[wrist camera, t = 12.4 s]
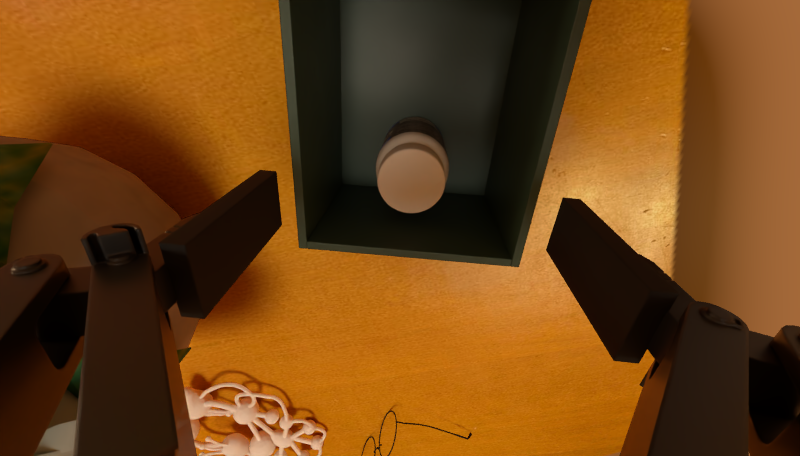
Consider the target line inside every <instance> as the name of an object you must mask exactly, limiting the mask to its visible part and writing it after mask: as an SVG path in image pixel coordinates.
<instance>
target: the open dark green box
mask: <svg viewBox="0 0 800 456" xmlns="http://www.w3.org/2000/svg"><path fill="white" fill-rule="evenodd" d="M591 2H592V0H279V11H280V23H281V35H282V47H283V59H284V71H285V84H286V96H287V108H288V120H289V132H290V144H291V156H292V168H293V180H294V192H295V204H296V216H297V228H298V240H299V248H308V249H318V250H330V251H341V252H352V253H364V254H375V255H387V256H398V257H409V258H421V259H432V260H444V261H455V262H466V263H478V264H489V265H501V266H512V267H519V264H520V261H521V257H522V253H523V250H524V246H525V243H526V239H527V235H528V232H529V228H530V224H531V221H532V217H533V213H534V210H535V206H536V202H537V199H538V195H539V191H540V188H541V184H542V180H543V177H544V173H545V170H546V166H547V162H548V159H549V155H550V151H551V148H552V144H553V140H554V137H555V133H556V129H557V126H558V122H559V118H560V115H561V111H562V107H563V104H564V100H565V96H566V93H567V89H568V86H569V82H570V78H571V75H572V71H573V67H574V64H575V60H576V56H577V53H578V49H579V45H580V42H581V38H582V34H583V31H584V27H585V23H586V20H587V16H588V13H589V9H590V5H591ZM408 117H420V118H424V119H427V120H429V121H430V122H432V123H433V124H434V125H435V126H436V127H437V128H438V129H439V131H440V133H441V134H442V137H443V140H444V144H445V148H446V153H447V156H448V160H449V173H448V178H447V181H446V183H445V188H444V191H443V194H442V196H441V198H440V199H439V200H438V201H437V203H436V204H435V205H433V206H432V207H431V208H429V209H427V210H425V211H422V212H418V213H405V212H401V211H398V210H396V209H394V208H392V207H391V206H389V205H388V204H387V203H386V202H385V201H384V199H383V198H382V196H381V194H380V192H379V189H378V184H377V175H376V161H377V157H378V154H379V152H380V149H381V147H382V145H383V142H384V140H385V137H386V135H387V133H388V131H389V130H390V129H391V128H392V126H393V125H394V124H396V123H397V122H398V121H400V120H402V119H405V118H408Z"/></svg>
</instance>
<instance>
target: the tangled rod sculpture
mask: <svg viewBox="0 0 800 456" xmlns="http://www.w3.org/2000/svg"><path fill="white" fill-rule="evenodd" d="M221 387H235V388H239V389H241V390H243V391H244V392H242V393H239V394H237V395H236V396H235V403H236V405H233V404H230V403H226V402H223V401H218V400H213V397H212V395H211V394H210V393H209V392H211V391H213V390H216V389H218V388H221ZM184 391H185V396H186V401H187V407H188V412H189V417H190V422H191V428H192V433H193V438H194V439H195V438H196V437H197V435H198V433H199V430H200V422H199V418H201V417H203V416H222V415H226V416H227V417H229V416H231V415H232V414H233V417H234V419H235V421H236V422H237V423H239V424H247V425H248V426H249V428H250V429H251V431H252V432H253V434H254V436H253V437H252V439H251V441H250V445H249V442H248V439H247V438H246V437H245V436H244V435H242V434H241V433H233V434H230V435H228V436H227V437H226V438H225V439H224V440H223V442H217V441H214V440H212V439H211V437H210V436H207V437H206V439H205V441H206V442H201V441H197V440H194V443H195V447H197V448H200V450H203V449H206V450H211V451H217V450H221V451H218V452H212V453H207V454H205V453H204V452H201V453H200V454H199V456H210V455H217V454H224V455H226V456H244V455H248V456H271V454H272V453H273V451H274V450H275V448H276V446H278V447H279V450H278V451H277V452H276V453H275V454H274V456H287V453H286V451H285V450H284V448H287V447H289V446H291V447H292V448H293V450H294V451H295V452H296V453H297V456H310V454H309V452H308V451H307V450H302V451H301V450H300V449H299V448H298V446H297V445H296V444H295V443H294V441H297V442H301V443H305V444H309V445H311V447H312V449H314V450H319V454H318V455H317V456H321V454H322V448H321V447H322V445H323V441H324V439H325V438H326V431H325V430H324V429H323V428H321V427H316V423H315V422H314V421H313V420H305V419H293V417H292V416H291V415H289V414H288V411H287V409H286V406H285V404H284V402H283V401H282V400H281V399H280V398H279V397H277V396H274V395H269V394H263V393H255V392H251V391H250V390H249V389H248V388H246V387H245V386H243V385H241V384H238V383H234V382H226V383H220V384H217V385H215V386H212V387H210V388H208V389H207V390H205V391H204V390H198V389H194V388H192V387H185V388H184ZM244 396H250V397H251V398H250V397H248V398H243V399H241V400H240V401H239V397H244ZM256 397H261V398H268V399H273V400H276V401H277V402H278V403H279V404H280V406H281V407H282V409H283V412H284V416H282V418H281V419H280V422H279V424H280V427H281V428H282V429H277V430H272V429H271V428H269V427H268V426H267V425H266V424H264V423H263V422H262V421H261V420H259V419H258V418H257V417H261V418H265V421H266V422H267V423H268V424H274V423H276V422H277V421H278V419H279V412H278V410H276V409H270V410H269V411H268V412H267V413H265V412H259V404H258V402H257V401H256ZM211 407H218V408H222V409H225V410H222V409H221V410H219V409H211ZM252 421H253V422H254V423H255V424H257V425H258V426H259V427H261V428H262V429H263V430H261V431H259V432H258V430H257V429H256V427H255V426H254V424H253V422H252ZM293 423H304V425H303V428H302V429H301V430H299V431H297V432H296V433H293V432H292V431H291V430H288V429H289V428H291V426H292V425H293ZM315 430H318V431H321V432H322V433H323V437H321V436H320V435H316V436H314V437H313V438H312V439H308V438H304V437H301V436H300V435H302V434H303V433H305V434H307V435H310V434H312V433H313V432H314V431H315Z"/></svg>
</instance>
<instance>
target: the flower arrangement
mask: <svg viewBox="0 0 800 456" xmlns="http://www.w3.org/2000/svg"><path fill="white" fill-rule="evenodd" d="M179 221H181V218H180V217H179V215H178V213H177V212H175V211H174V210H173V209H172V208H171V207H170V206H169V205H168V204H167V203H166V202H164V201H163V200H162V199H161V198H160V197H159V196H158V195H157V194H156V193H155V192H153V191H152V190H151V189H150V188H149V187H148V186H147V185H146V184H145V183H144V182H142V181H141V180H140V179H139V178H138V177H137V176H136V175H135V174H133V173H131V172H129V171H127V170H125V169H123V168H121V167H119V166H117V165H115V164H113V163H111V162H109V161H107V160H105V159H103V158H101V157H99V156H97V155H95V154H93V153H91V152H89V151H87V150H85V149H83V148H81V147H76V146H70V145H64V144H57V143H51V142H45V141H38V140H32V139H26V138H15V137H5V136H0V268H1V267H3V266H4V265H6V264H8V263H11V262H13V261H14V260H16V259H18V258H21V257H23V258H25V256H29V255H38V254H57V255H60V256H61V257H62V258H63V260H64V262H65V264H66V266H67V268H75V267H87V266H91V263H90V261H89V258H88V256H87V254H86V251H85V249H84V247H83V244H82V242H81V240H80V239H81V238H82V236H83V235H84V234H86V233H88V232H89V231H91V230H93V229H96V228H99V227H102V226H106V225H110V224H117V223H133V224H136V225H139V226H140V228H141V229H142V233H143V236H144V239H145V242H146V244H148V243H149V242H151V241H152V240H153V239H155V238H156V237H158V236H159V235H161V234H162V233H165V231H166V230H168V229H169V228H171V227H173V226H174V225H175V224H177V223H178V222H179ZM168 312H169V315H170V318H171V323H172V328H173V334H174V339H175V344H176V349H177V355H178V360H179V363H180V362H181V361H182V359H183V358H184V357H185V356H186V354H187V353H188V352H189V351H190V349H191V347H190V348H188V346H189V344H190V341H191V339H192V336H193V334H194V331H195V329H196V326H197V324H198V321H199V319H200V318H191V317H181V315H180V312H179V308H178V305H177V302H176V303H175V304H174V305H173V306H172V307H171V308H170V309H169V310H168ZM81 368H82V359H81V361H80V363H79V365H78V367H77V369H76V371H75V373H74V375H73V377H72V379H71V381H70V383H69V385H68V387H67V389H66V391H65V393H64V395H63V397H62V399H61V401H60V403H59V405H58V407H57V409H56V411H55V413H54V415H53V417H52V419H51V421H50V423H49V425H48V427H47V429H46V431H45V433H44V435H43V437H42V439H41V441H40V444H39V446H38V448H37V450H36V452H35V454H34V456H73V450H74V440H75V429H76V419H77V409H78V398H79V388H80V378H81Z"/></svg>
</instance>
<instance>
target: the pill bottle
mask: <svg viewBox="0 0 800 456" xmlns="http://www.w3.org/2000/svg"><path fill="white" fill-rule="evenodd" d="M448 173H449V160H448V156H447V153H446V148H445V144H444V140H443V137H442V134H441V133H440V131H439V129H438V128H437V127H436V126H435V125H434V124H433V123H432V122H430V121H429V120H427V119H424V118H420V117H408V118H405V119H402V120H400V121H398V122H397V123H396V124H394V125H393V126H392V128H391V129H390V130H389V131H388V133H387V135H386V137H385V140H384V142H383V145H382V147H381V149H380V152H379V154H378V157H377V161H376V175H377V184H378V189H379V192H380V194H381V196H382V198H383V199H384V201H385V202H386V203H387V204H388V205H389V206H391V207H392V208H394V209H396V210H398V211H401V212H405V213H418V212H422V211H425V210H427V209H429V208H431V207H432V206H433V205H435V204H436V203H437V201H438V200H439V199H440V198H441V196H442V194H443V191H444V188H445V183H446V181H447V178H448Z"/></svg>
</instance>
